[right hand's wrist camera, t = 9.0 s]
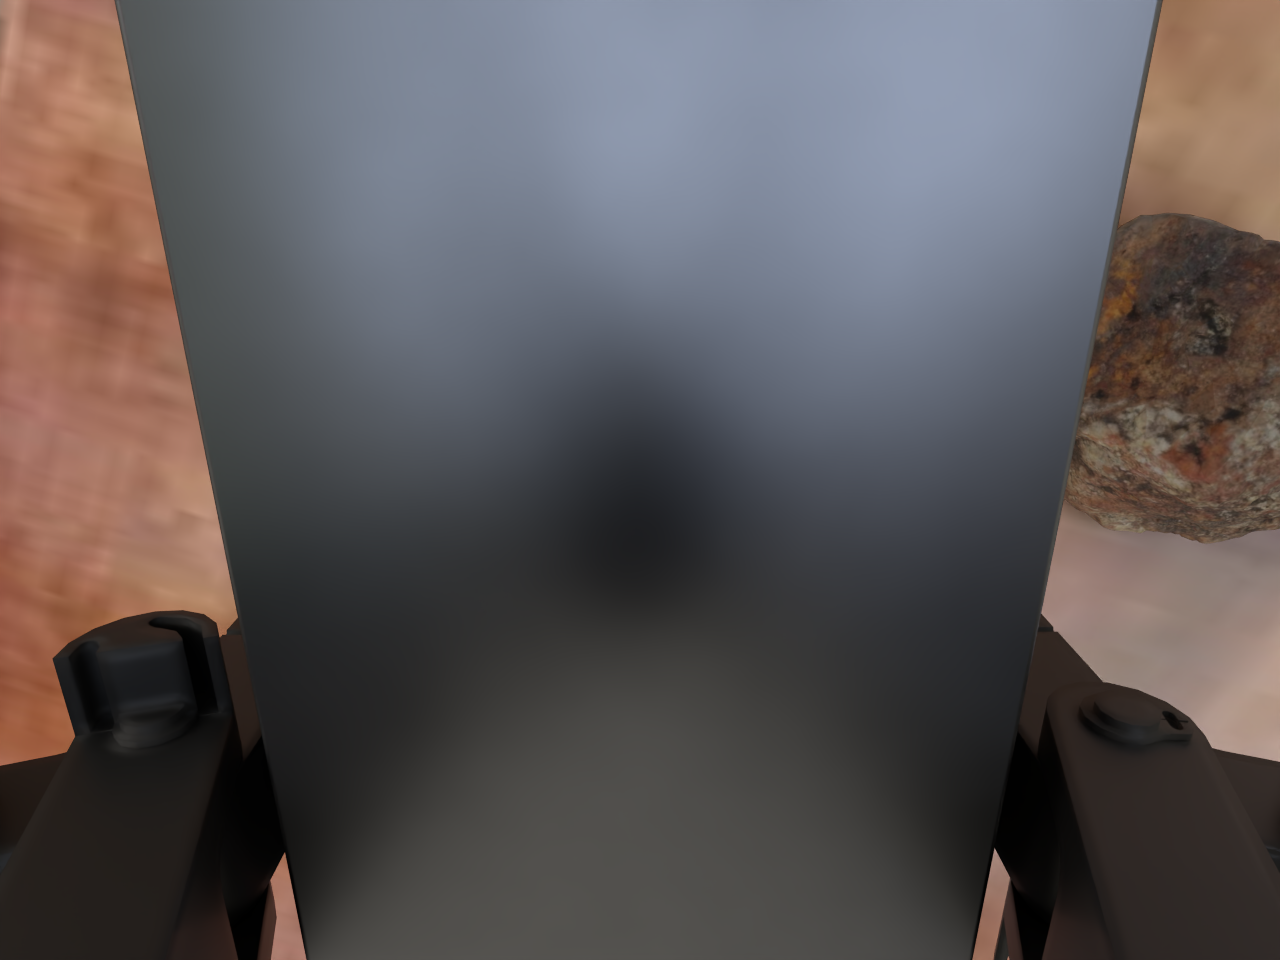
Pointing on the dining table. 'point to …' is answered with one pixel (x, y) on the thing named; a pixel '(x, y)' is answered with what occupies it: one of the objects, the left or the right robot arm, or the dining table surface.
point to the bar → (639, 444)
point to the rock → (1184, 384)
